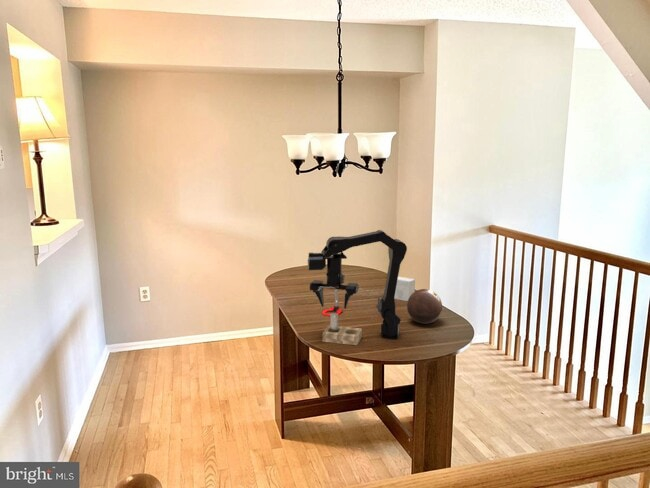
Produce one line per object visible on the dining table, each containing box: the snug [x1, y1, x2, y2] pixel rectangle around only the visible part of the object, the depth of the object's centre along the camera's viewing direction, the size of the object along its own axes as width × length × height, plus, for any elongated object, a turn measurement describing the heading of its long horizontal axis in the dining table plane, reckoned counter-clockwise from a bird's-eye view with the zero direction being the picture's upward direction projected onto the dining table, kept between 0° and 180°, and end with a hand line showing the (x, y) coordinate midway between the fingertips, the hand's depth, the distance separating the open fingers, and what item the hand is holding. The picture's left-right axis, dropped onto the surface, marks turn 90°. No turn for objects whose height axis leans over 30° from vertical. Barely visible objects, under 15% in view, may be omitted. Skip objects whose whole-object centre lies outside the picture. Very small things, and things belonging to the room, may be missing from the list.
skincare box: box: [394, 276, 416, 302], centre depth 245 cm, size 10×6×10 cm, turn 54°
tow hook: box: [322, 289, 344, 318], centre depth 222 cm, size 8×13×9 cm
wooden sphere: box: [406, 288, 443, 325], centre depth 210 cm, size 15×15×15 cm
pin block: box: [322, 324, 363, 346], centre depth 192 cm, size 14×9×4 cm, turn 74°
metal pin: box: [329, 312, 339, 333], centre depth 193 cm, size 3×3×10 cm
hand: (334, 307), depth 191 cm, fingers open, 9 cm apart
